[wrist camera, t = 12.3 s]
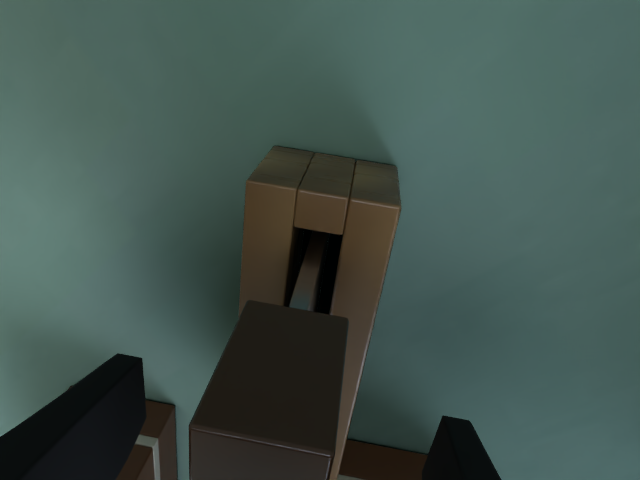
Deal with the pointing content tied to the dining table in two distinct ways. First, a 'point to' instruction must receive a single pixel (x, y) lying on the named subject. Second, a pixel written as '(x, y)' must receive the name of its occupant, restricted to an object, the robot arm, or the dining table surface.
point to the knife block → (331, 217)
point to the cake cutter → (275, 389)
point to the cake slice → (153, 446)
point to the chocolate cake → (379, 463)
